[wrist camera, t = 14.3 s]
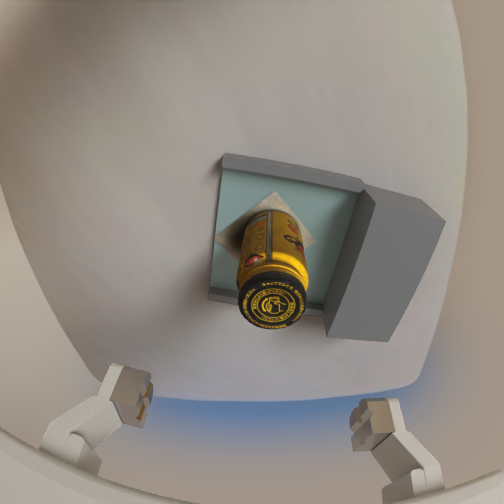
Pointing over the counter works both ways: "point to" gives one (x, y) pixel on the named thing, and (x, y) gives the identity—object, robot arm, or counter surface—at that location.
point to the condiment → (269, 263)
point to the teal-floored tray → (335, 242)
